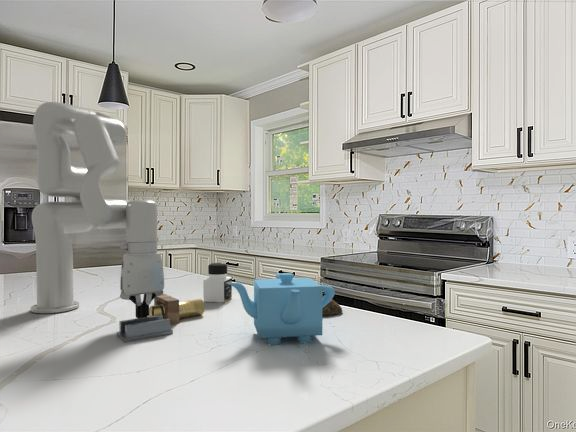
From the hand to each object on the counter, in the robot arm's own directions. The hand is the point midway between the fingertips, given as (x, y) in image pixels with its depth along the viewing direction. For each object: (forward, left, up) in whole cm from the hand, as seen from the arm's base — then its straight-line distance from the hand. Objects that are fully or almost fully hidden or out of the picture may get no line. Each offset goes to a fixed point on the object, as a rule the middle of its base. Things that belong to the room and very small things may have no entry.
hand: (142, 319), depth 111 cm
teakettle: (+31, +22, -1) cm, 38 cm away
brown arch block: (0, +6, -1) cm, 6 cm away
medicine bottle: (-14, +29, -1) cm, 32 cm away
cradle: (+10, -3, -1) cm, 10 cm away
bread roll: (+17, +45, -2) cm, 48 cm away
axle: (0, +9, -1) cm, 9 cm away
